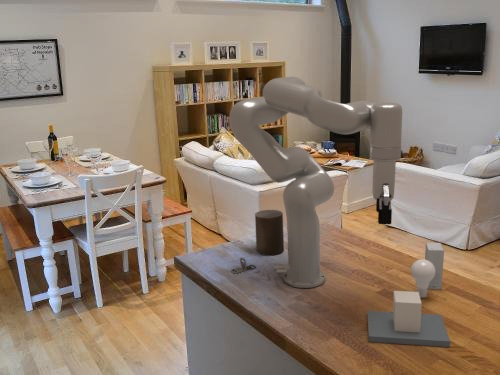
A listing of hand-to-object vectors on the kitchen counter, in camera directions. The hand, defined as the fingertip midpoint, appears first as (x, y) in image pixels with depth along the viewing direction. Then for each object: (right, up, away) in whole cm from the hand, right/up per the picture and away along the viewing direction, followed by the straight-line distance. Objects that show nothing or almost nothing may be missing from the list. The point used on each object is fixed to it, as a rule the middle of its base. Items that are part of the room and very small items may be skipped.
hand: (383, 217), depth 129 cm
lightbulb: (+13, -23, +8) cm, 27 cm away
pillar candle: (-28, -15, +46) cm, 55 cm away
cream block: (+3, -26, -8) cm, 27 cm away
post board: (+3, -27, -8) cm, 28 cm away
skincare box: (+18, -21, +15) cm, 31 cm away
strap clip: (-37, -19, +31) cm, 52 cm away
